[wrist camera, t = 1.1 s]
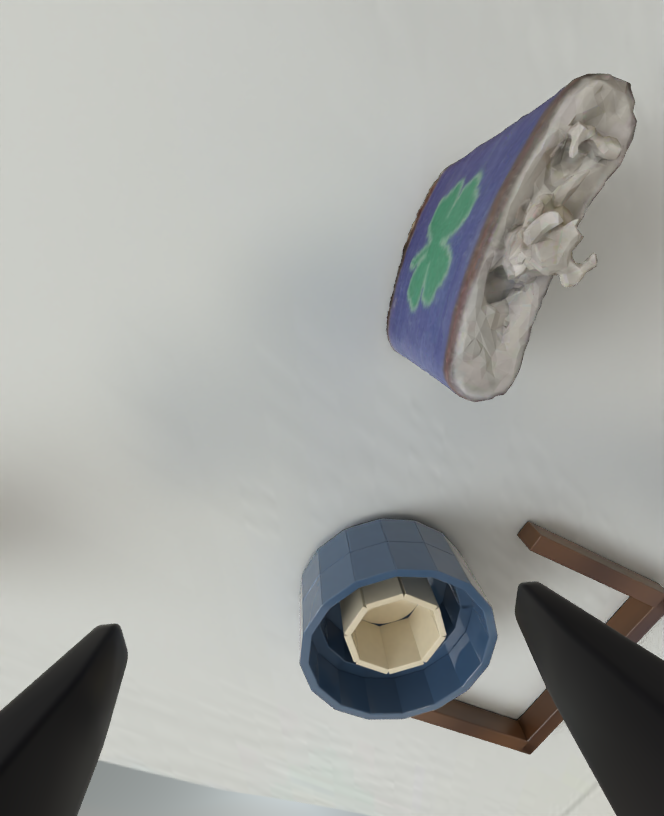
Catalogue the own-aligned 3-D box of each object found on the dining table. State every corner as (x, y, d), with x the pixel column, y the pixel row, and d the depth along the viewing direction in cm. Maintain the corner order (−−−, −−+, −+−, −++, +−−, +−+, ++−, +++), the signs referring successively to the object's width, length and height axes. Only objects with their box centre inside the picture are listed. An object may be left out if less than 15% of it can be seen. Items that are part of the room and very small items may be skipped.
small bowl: (442, 572, 25) (463, 616, 22) (397, 633, 26) (411, 682, 23) (368, 541, 24) (379, 583, 20) (325, 607, 25) (329, 655, 22)
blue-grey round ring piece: (492, 551, 25) (535, 611, 21) (407, 663, 28) (428, 738, 23) (351, 487, 23) (364, 539, 18) (272, 616, 26) (266, 689, 21)
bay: (658, 583, 27) (678, 600, 26) (519, 733, 31) (530, 755, 30) (527, 520, 25) (541, 535, 23) (394, 692, 29) (399, 714, 27)
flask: (421, 359, 21) (536, 435, 11) (369, 343, 20) (439, 405, 10) (494, 174, 18) (737, 39, 8) (437, 150, 18) (621, -25, 8)
